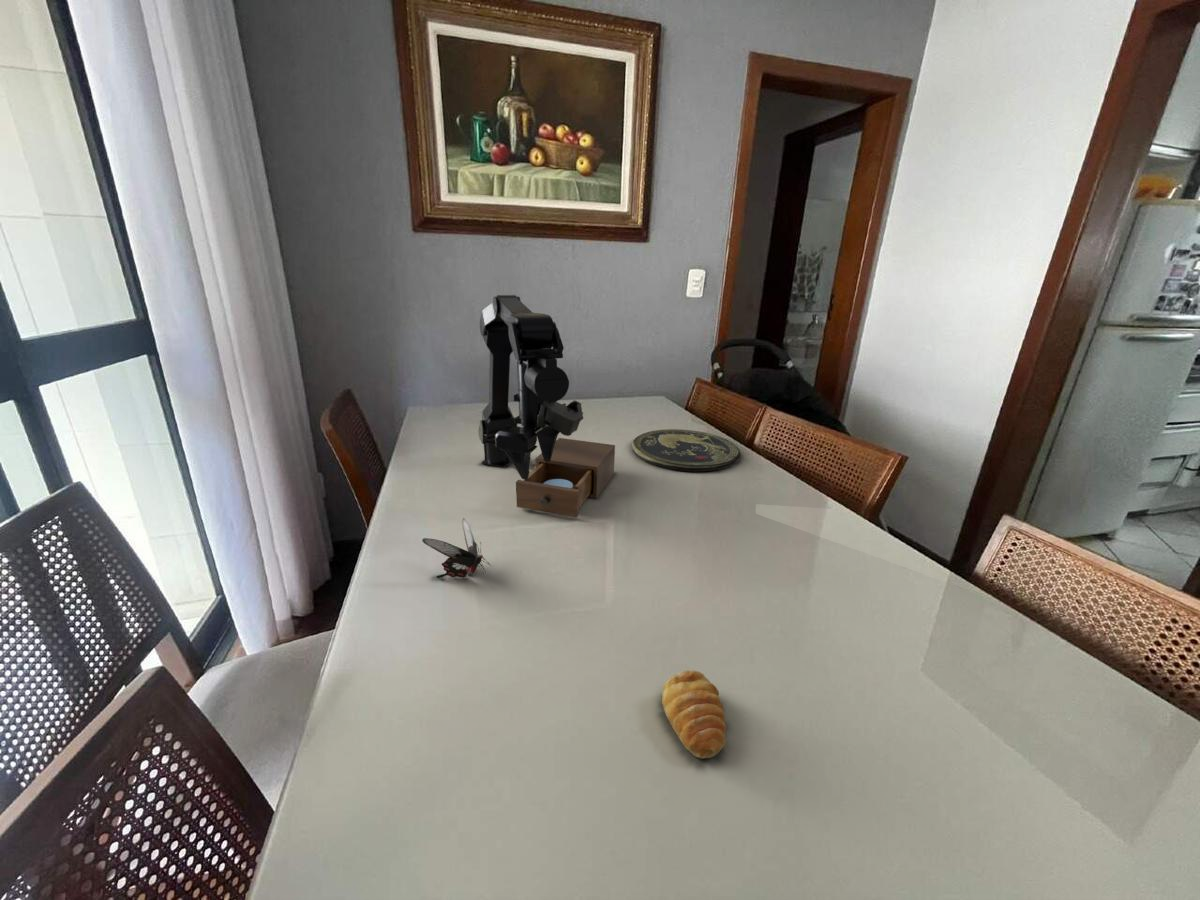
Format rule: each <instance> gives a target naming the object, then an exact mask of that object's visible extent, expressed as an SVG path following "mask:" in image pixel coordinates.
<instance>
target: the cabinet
mask: <svg viewBox="0 0 1200 900" xmlns="http://www.w3.org/2000/svg"><path fill="white" fill-rule="evenodd" d="M615 454H616V444H609V443H604V442H603V443H602V442H595V441H586V440H579V439H571V438H563V437H558V438H557V439H556V442H555V446H554V449H553V453H552V457H551V460H550V462H545V461H544V458H543V455H542V452H541V453H539V455H538V456H536V457H535V469H536V468H537V467H538V466H539V465H540V464H541V463H542V462H543V463H550V464H557V465H564V466H571V467H577V468H584V469H591V470H594V483H593V491H592V492H591V493H590V495H589V496H588V497H587V498H592V499H597V498H598V497H599V496H600V494H601V493H602V491H603V490H604V488H606V485H608V483H609V481H610V480H611V478H612V477H613V476H614V474H615V460H616V459H615V456H616V455H615Z"/></svg>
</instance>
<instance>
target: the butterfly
mask: <svg viewBox="0 0 1200 900" xmlns="http://www.w3.org/2000/svg"><path fill="white" fill-rule="evenodd" d="M461 524H462V530H463V536H464V540H465V544H466V549H467V550H465V549H463V548H461V547H459V546H456V545H454V544H452V543H449V542H447V541H443V540H439V539H435V538H429V537H428V538H425V537H423V538H422V540H421V541H422V543H423V544H424V545H426V546H427V547H429V548H431V549H433V550H435V551H436V552H438V553H440V554H442V555H444V556H446V557H447V559H445V561H444V562H442V563H441V566H442V567H443V571H444V572H445V573H442V574H439V575H436V576H435V577H436V578H437V579H442V578H444V577H447V576H448V577H451V578H457V577H458V578H466V577H467V576H468V575H469V574H470V573H471V574H472V575H473V574H475V573H476V571H477V569H478V568H480V570H481V572H482V573H483V574H485V573H484V572H486V570H485V566H484V564H483V563H485V564H487V565H490V566H491V563H489V562H487V560H486V558H485V557H484V555H483V554H481V553H482V549H480V548H479V546H478V544H477V542H476V540H475V538H474V535H473V531H472V529H471V526H470V525H469V523H468V521H467V519H466V518H465V517H463V518H462V520H461ZM479 544H480V545H482V542H481V541H479Z"/></svg>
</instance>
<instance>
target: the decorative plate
mask: <svg viewBox="0 0 1200 900" xmlns="http://www.w3.org/2000/svg"><path fill="white" fill-rule="evenodd" d="M631 450H632V452H633V454H634V455H635V456H636V457H638V458H639V459H641V460H643V461H645V462H646V463H649V464H651V465H654V466H657V467H662V468H665V469H669V470H677V471H684V472H713V471H718V470H720V471H721V470H723V469H727V468H730V467H732V466H735V464H736V463H737V462H739V460H740V458H741V450H740V449H739V447H738V445H736V444H735V443H733V442H732V441H730V440H729V439H727V438H725V437H722V436H719V435H716V434H713V433H708V432H705V431H700V430H699V431H698V430H692V429H691V430H690V429H681V428H679V429H677V428H675V429H674V428H672V429H670V428H669V429H668V428H667V429H655V430H650V431H646V432H644V433H641V434H639V435H638V436H636V437H635V438H634V439H633V441H632V443H631Z"/></svg>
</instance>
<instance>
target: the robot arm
mask: <svg viewBox="0 0 1200 900" xmlns="http://www.w3.org/2000/svg"><path fill="white" fill-rule="evenodd" d="M479 331H480V335H481V336H482V339H483V341H484V344H485V345H486V347H487V350H488V351H489V382H488V383H489V385H488V386H489V389H488V390H489V391H488V392H489V394H488V398H489V399H488V403H487V405H486V406H485V407H484V409H483V410H482V411H481V412H482V415H481V420H479V425H478V431H477V432H478V438H479V441H480V442H481V444H482V445H483V453H484V454H483V455H484V459H483V460H482V461H481V465H483V466H484V465H485V466H492V467H498V468H505V467H506V466H508V465H510V463H512V464H513V466H514V468H515V469H516V471H517V473H518V474H519V476H520V478H521V480H524V479H525V480H527V479H528V476H529V474H530V466H531V453H533V452H534V451H535V450H536V449H537V448H538V445H539V449H540V451H541V453H542V455H543V458H544V461H545V462H550V460H551V457H552V453H553V449H554V446H555V442H556V440H557V439H558V436H559V434H561V435H563V436H565V437H569V436H571V435H572V434H573V433H575V432H577V431H578V428H579V425H580V423H581V422H582V421H583V419H584V416H583V415H584V412H583V407H582V403H581V402H580V401H578V400H573V401H571V402H569V403H568V404H566V403H565V402H564V403H560V402H558V401H561V400H562V399H563V398H564V397H565V396H566V395H567V393H568V392H569V391H568V390H569V388H570V380H569V378H568V375H567V373H566V372H565V371H564V370H563V368H560V367H559V366H558V359H564V353H563V351H564V348H565V347H564V344H563V341H562V337H561V335H560V331H559V329H558V327H557V324H556V322H555V321H554V320H553V318H552V316H551V315H549V314H547V313H540V312H533V311H531V310H530V309H529V307H528V306H526V305H525V303H523V302H522V301H521V297H520V296H517V295H515V294H497V295H496V296H493V298H492V301H491V303H490V304H489V305H487V306H486V307H485V308H483V309H482V310H481V313H480V318H479ZM512 353H513V355H514V358H515V360H516V361H517V362H516V368H517V369H516V372H517V393H516V394H513V402H518V415H517V416H516V417H514V415H513V412H512V410H511V408H510V406H509V398H510V397H509V396H510V395H509V394H510V371H511V370H510V369H511V355H512ZM518 425H521V426H518ZM537 441H538V442H537ZM537 443H538V445H536V444H537Z"/></svg>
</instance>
